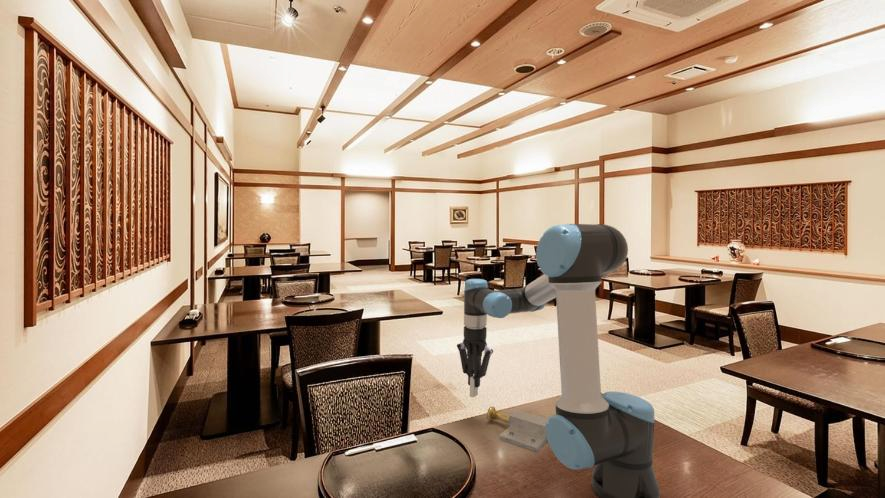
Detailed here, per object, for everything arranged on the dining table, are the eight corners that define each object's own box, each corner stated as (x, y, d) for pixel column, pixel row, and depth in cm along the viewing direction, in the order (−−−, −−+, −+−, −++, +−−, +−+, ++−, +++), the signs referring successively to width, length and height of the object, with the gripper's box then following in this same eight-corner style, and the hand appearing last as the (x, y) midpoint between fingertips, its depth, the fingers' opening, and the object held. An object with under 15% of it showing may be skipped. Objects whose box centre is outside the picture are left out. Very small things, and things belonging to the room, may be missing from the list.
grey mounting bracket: (558, 428, 134) (559, 412, 133) (537, 452, 120) (537, 435, 119) (523, 417, 140) (523, 403, 140) (499, 439, 127) (499, 422, 126)
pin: (529, 428, 132) (530, 415, 132) (523, 434, 129) (524, 420, 129) (493, 417, 140) (493, 404, 140) (486, 422, 136) (486, 409, 136)
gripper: (498, 327, 139) (496, 396, 141) (464, 320, 146) (463, 387, 148) (486, 332, 133) (485, 404, 135) (452, 325, 140) (451, 394, 142)
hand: (473, 395), depth 142 cm, fingers closed
